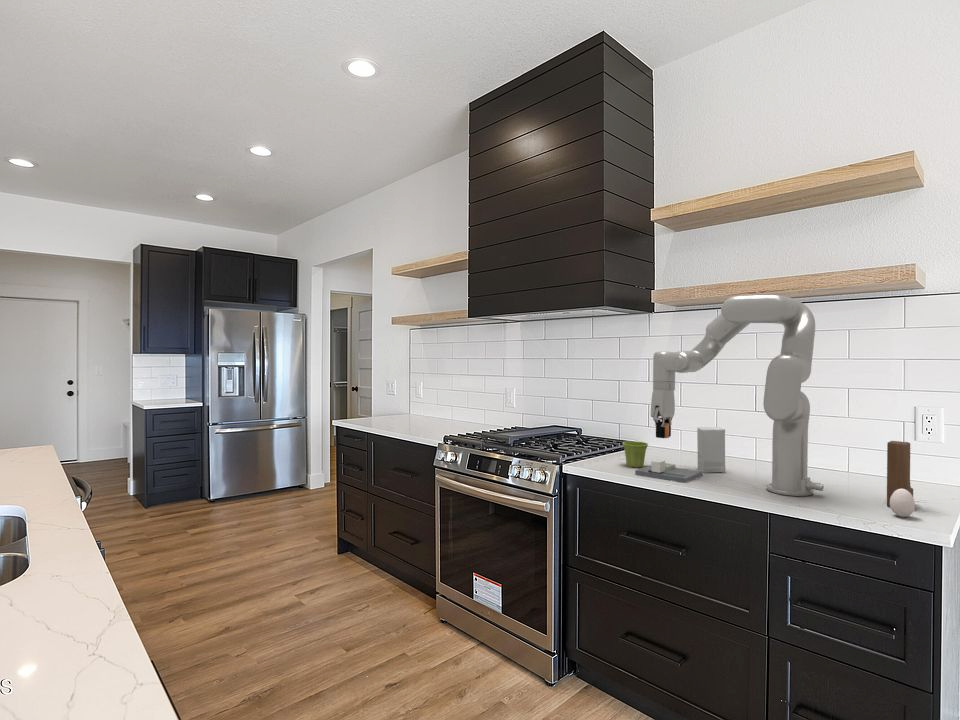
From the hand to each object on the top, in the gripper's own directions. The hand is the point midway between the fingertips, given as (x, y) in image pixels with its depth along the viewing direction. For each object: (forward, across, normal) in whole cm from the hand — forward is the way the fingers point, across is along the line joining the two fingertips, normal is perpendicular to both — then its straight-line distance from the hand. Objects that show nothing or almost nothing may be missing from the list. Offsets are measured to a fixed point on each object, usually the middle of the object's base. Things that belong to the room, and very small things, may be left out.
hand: (663, 436), depth 202 cm
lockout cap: (0, 0, 0) cm, 0 cm away
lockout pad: (+11, 0, 0) cm, 11 cm away
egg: (+12, +10, +70) cm, 72 cm away
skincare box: (+13, -12, +12) cm, 22 cm away
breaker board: (+13, +4, +4) cm, 14 cm away
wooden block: (+12, -4, +68) cm, 69 cm away
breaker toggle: (+11, +9, +3) cm, 14 cm away
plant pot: (+13, -2, -12) cm, 18 cm away
